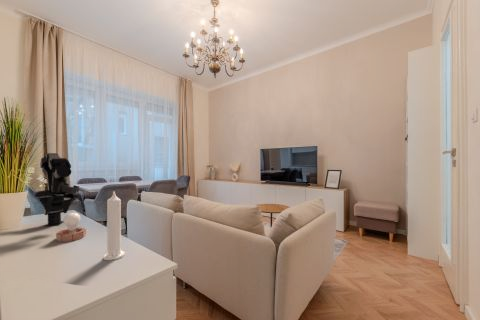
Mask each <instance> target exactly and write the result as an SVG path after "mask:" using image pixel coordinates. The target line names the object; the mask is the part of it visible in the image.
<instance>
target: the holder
mask: <svg viewBox="0 0 480 320" xmlns="http://www.w3.org/2000/svg"><path fill="white" fill-rule="evenodd" d="M86 234H87V228H86V227H82V226H81V227H78V226H77V228H76V233H72V234H69V230H68V228H65V229H62V230H59V231H58V232H56V233H55V240H56V241H57V242H60V243H68V242H74V241H77V240H80V239H83V238H84V237H85V236H86Z"/></svg>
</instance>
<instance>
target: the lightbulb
mask: <svg viewBox="0 0 480 320" xmlns="http://www.w3.org/2000/svg"><path fill="white" fill-rule="evenodd" d="M63 221H64V222H63V223H64V225H65V226H66V227H67V229H68V230H69V234H72V233H76V228H77V227H78V225H79V224H80V222H81V215H80V214H79V213H77V212H69V213H68V214H67V213H66V215H65V216H64V218H63Z"/></svg>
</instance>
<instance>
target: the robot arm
mask: <svg viewBox="0 0 480 320" xmlns="http://www.w3.org/2000/svg"><path fill="white" fill-rule="evenodd" d="M39 166H40V168H41V171H42V173H43V174H44V175H45V176H46V183H47V189H45V190H39V191H36V192H35V195H34V198H35V199H36V198H37V200H38V201H40V203H41V204H42V206H43V215H44V216H47V223H46V224H44V227H52V226H60V225H61V224H63V223H64V220H62V214H67V213H68V210H69V208H70V206H71V205H72V203H73V202H74V201H75V202H76V200H78V199H79V194H78V193H79V191H80V186H79V185H73V186H70V184H69V183H67V181H68V178H69V177H70V176H71V174H72V169H71V168H72V165H71V163H70V160H69V159H68V158H67V157H60V155H59V154H58V153H55V152H54V153H52V152H51V153H50V152H48V153H46V154H45V156H43V157H41V158H40V163H39Z"/></svg>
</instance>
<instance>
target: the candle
mask: <svg viewBox="0 0 480 320" xmlns="http://www.w3.org/2000/svg"><path fill="white" fill-rule="evenodd" d="M106 201H107V202H106V204H107V205H106V207H107V209H106V210H107V211H106V212H107V213H106V214H107V215H106V217H107V219H106V220H107V221H106V222H107V223H106V224H107V226H106V227H107V228H106V232H107V233H106V234H107V236H106V237H107V239H106V240H107V241H106V243H107V253H105V254H103V259H104V261H115V260H119V259H121V258H123V257H124V256H125V251H124V250H122V206H121V205H122V200H121V198H120V197H118V196H117V195H116V191H114V190H113V191H112V196H111V197H110V198H108V199H107V200H106Z"/></svg>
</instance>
